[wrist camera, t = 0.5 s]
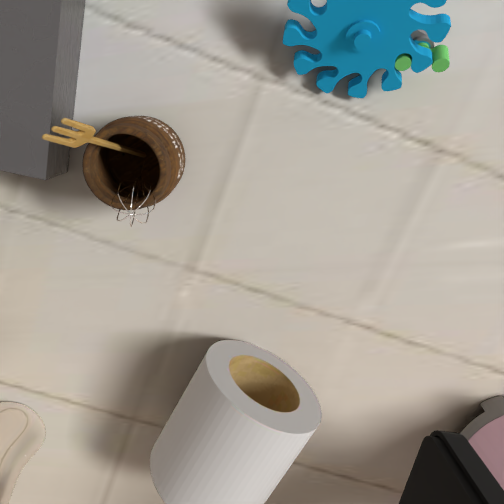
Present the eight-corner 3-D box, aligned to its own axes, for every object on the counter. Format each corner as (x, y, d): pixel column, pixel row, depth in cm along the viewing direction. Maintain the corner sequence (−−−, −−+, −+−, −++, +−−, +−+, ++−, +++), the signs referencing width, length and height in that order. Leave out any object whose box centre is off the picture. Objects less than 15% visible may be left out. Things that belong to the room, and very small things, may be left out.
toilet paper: (210, 324, 37) (201, 398, 28) (310, 369, 39) (334, 454, 30) (160, 411, 40) (137, 506, 30) (256, 450, 42) (263, 551, 32)
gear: (256, 68, 29) (336, -84, 21) (267, 12, 32) (341, -142, 24) (391, 128, 33) (508, 17, 24) (391, 73, 35) (497, -45, 27)
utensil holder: (143, 211, 34) (96, 264, 23) (87, 144, 32) (6, 165, 21) (203, 165, 33) (186, 197, 22) (148, 94, 31) (99, 87, 20)
